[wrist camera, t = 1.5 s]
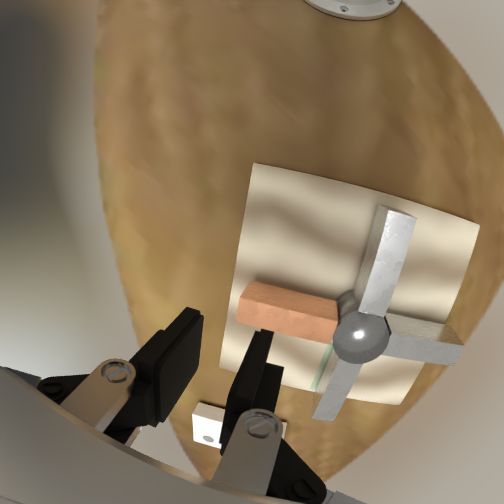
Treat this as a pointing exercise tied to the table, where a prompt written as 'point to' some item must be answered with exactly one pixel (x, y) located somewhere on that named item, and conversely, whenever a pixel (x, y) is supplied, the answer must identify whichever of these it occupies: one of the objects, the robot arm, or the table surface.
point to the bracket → (211, 424)
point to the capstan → (354, 316)
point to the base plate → (339, 269)
